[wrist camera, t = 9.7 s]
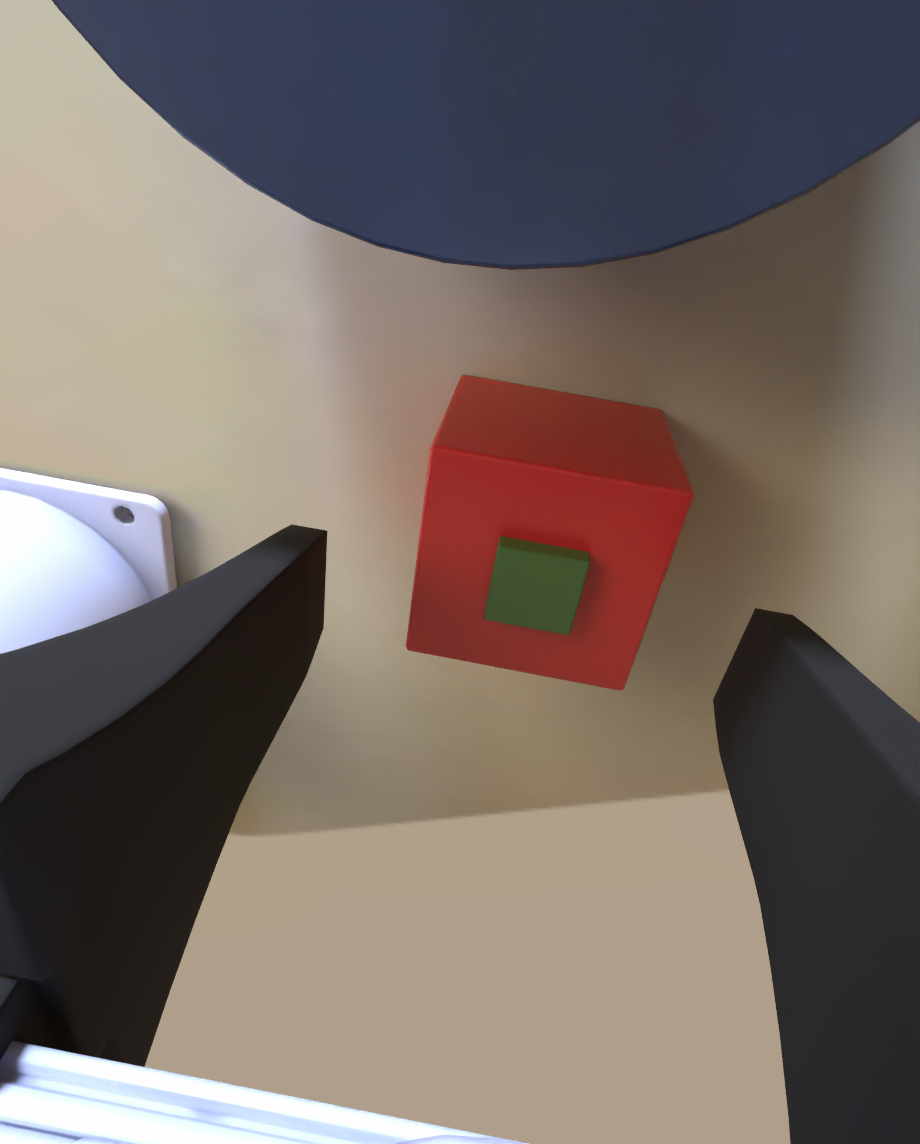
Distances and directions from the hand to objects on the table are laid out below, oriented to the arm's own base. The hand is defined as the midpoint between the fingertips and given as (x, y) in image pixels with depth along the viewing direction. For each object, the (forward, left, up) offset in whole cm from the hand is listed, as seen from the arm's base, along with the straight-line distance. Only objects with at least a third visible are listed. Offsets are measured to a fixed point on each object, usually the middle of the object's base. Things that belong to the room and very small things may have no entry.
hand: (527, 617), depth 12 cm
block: (0, 0, -5) cm, 5 cm away
